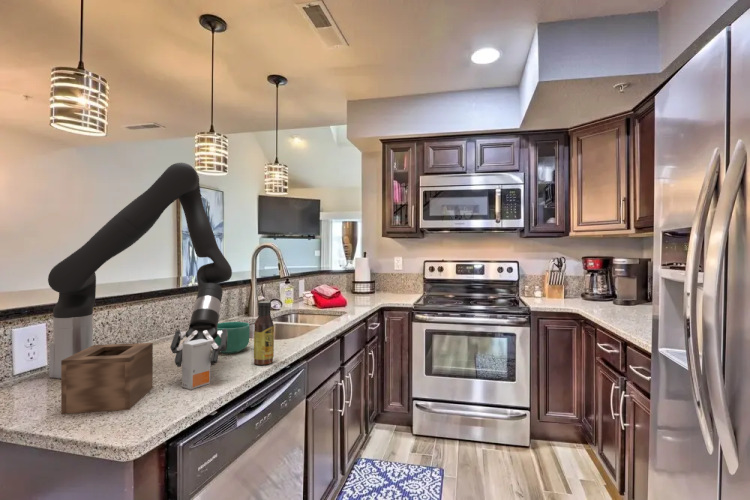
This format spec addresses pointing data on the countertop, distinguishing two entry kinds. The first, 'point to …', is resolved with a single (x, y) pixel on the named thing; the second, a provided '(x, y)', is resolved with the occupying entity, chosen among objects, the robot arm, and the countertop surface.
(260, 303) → the sauce bottle
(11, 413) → the countertop surface
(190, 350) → the skincare box
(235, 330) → the mug
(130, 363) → the slot box
